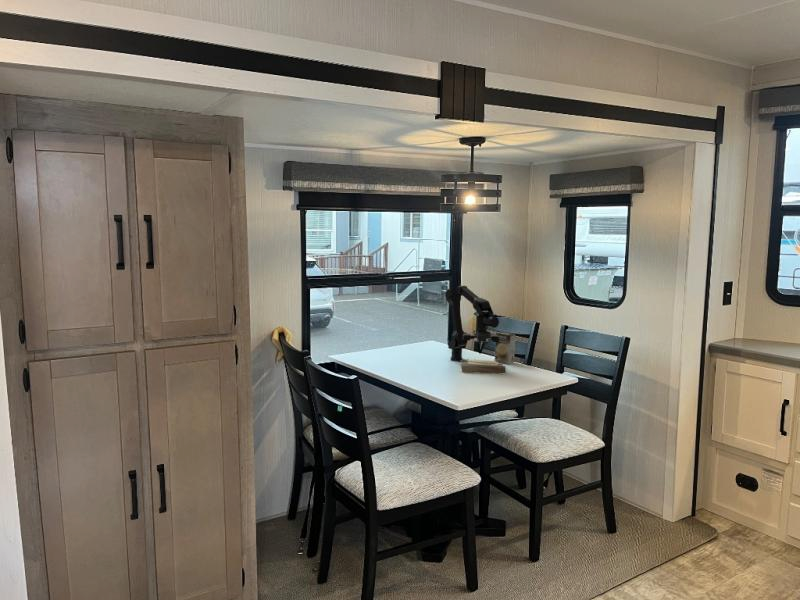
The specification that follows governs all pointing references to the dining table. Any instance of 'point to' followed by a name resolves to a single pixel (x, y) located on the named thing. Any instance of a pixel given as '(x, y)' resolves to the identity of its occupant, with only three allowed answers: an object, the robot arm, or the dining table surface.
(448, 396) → the dining table surface
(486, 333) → the robot arm
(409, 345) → the dining table surface
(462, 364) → the floor board
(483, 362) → the tan rectangular panel
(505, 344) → the coffee box
